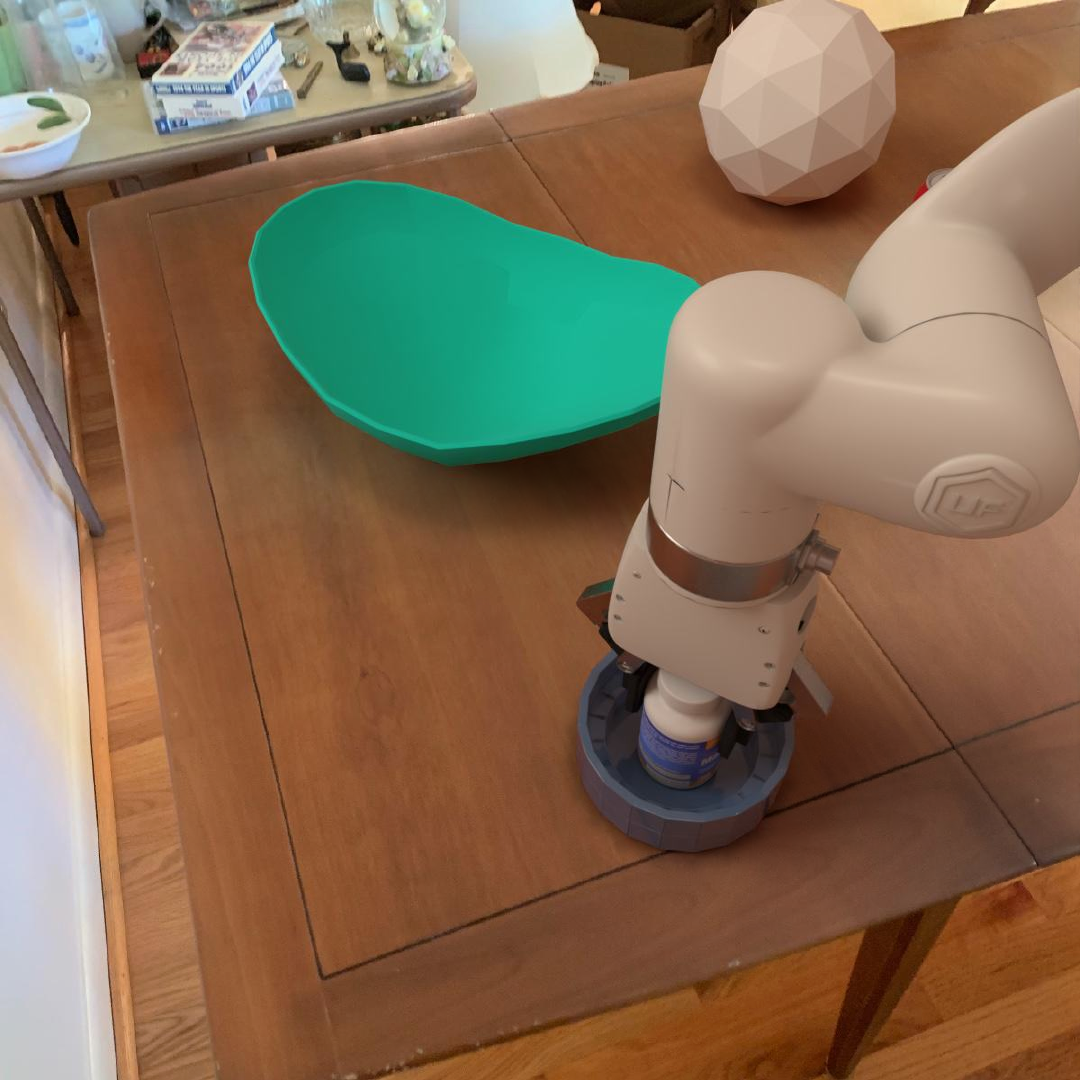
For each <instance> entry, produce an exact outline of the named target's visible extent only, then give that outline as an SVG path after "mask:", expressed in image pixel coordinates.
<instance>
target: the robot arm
mask: <svg viewBox="0 0 1080 1080" xmlns="http://www.w3.org/2000/svg"><path fill="white" fill-rule="evenodd" d="M1078 268H1080V86H1078V87H1076V88H1074V89H1071V90H1069V91H1067V92H1065V93H1063V94H1061V95H1059V96H1057V97H1055V98H1053V99H1051V100H1048V101H1047V102H1044V104H1041V105H1040V106H1038V107H1036V108H1034V109H1032V110H1031V111H1030V110H1029V112H1027V113H1025V114H1024V115H1022V116H1021V117H1019V118H1018V119H1016V120H1015V121H1013V122H1011V123H1009V125H1007V126H1005V127H1004V128H1003V129H1001V130H1000V131H998V132H997V133H996V134H995V135H992V137H991V138H989V139H988V140H987V141H985V142H984V143H983V144H982V145H980V146H979V147H978V148H976V149H975V151H973V152H972V153H971V154H969V155H968V156H967V157H966V158H964V160H962V161H961V162H959V163H958V164H957V165H956V166H955V167H954V169H953V170H952V171H950V172H949V173H948V174H947V175H946V176H945V177H943V178H942V179H941V180H940V181H939V182H937V183H936V184H935V185H934V186H933V187H932V188H930V189H929V190H928V191H927V192H926V193H925V194H923V195H922V196H921V197H920V198H919V199H918V200H917V201H915V202H914V203H913V202H912V204H910V206H908V207H907V208H906V209H905V210H904V211H903V212H902V213H901V214H900V215H899V216H898V217H897V218H896V219H894V221H892V223H891V224H889V226H887V227H886V228H885V230H883V232H882V233H881V234H880V235H879V236H878V237H877V238H876V239H875V241H874V242H873V244H872V245H871V246H870V248H869V249H867V251H866V253H865V254H864V255H863V257H862V258H861V259H860V261H859V263H858V264H857V266H856V268H855V270H854V273H853V274H852V277H850V281H849V283H848V286H847V289H846V294H845V299H844V300H843V299H842V298H841V297H840V296H839V295H837V294H836V293H835V292H833V291H831V290H830V289H828V288H827V287H826V286H823V285H822V284H820V283H818V282H815V281H813V280H811V279H809V278H806V277H803V276H800V275H797V274H792V273H789V272H782V271H777V270H748V271H747V270H746V271H741V272H736V273H735V272H734V273H730V274H726V275H724V276H720V277H717V278H715V279H714V280H711V281H708V282H707V283H704V285H702V286H701V287H700V288H699V289H698V290H696V291H695V292H694V293H693V294H692V295H691V296H690V297H689V298H688V299H686V301H685V302H684V304H683V305H682V306H681V308H680V309H679V311H678V312H677V314H676V316H675V318H674V320H673V323H672V325H671V328H670V332H669V337H668V343H667V349H666V357H665V366H664V375H663V384H662V393H661V401H660V410H659V414H658V421H657V430H656V439H655V446H654V452H653V453H654V455H653V462H652V470H651V479H650V486H649V495H648V497H647V499H646V500H645V502H644V503H643V505H642V507H641V509H640V511H639V513H638V515H637V517H636V519H635V521H634V523H633V526H632V527H631V530H630V532H629V535H628V537H627V540H626V543H625V546H624V549H623V552H622V554H621V558H620V560H619V564H618V568H617V571H616V576H615V577H613V578H610V579H606V580H603V581H600V582H597V583H594V584H589V585H587V586H586V587H585V588H584V590H583V591H582V592H581V594H580V596H579V598H578V599H577V600H576V602H575V604H576V607H577V608H578V609H579V610H580V611H581V612H582V613H583V614H584V615H585V616H586V618H587V619H588V620H589V621H590V622H591V623H592V624H593V625H594V626H598V627H599V628H598V635H599V636H600V637H601V638H602V639H603V640H604V642H606V644H607V645H608V646H609V647H610V648H611V650H612V649H613V650H614V651H615V653H616V654H617V655H618V656H619V658H618V660H617V661H616V665H617V667H618V668H619V669H620V670H622V671H623V680H622V687H623V688H625V689H627V699H626V707H625V710H627V711H629V712H631V713H634V712H636V713H637V712H638V711H639V709H640V707H641V705H642V704H643V702H644V694H645V689H646V686H647V683H648V681H649V679H650V678H651V676H652V675H653V674H654V672H655V671H657V670H658V669H659V668H661V669H664V670H666V671H668V672H670V673H672V674H674V675H676V676H678V677H681V678H683V679H685V680H687V681H689V682H691V683H693V684H696V685H698V686H700V687H702V688H704V689H706V690H709V691H711V692H713V693H715V694H717V695H720V696H722V697H724V698H726V699H729V700H731V703H732V707H733V709H732V711H731V713H730V715H729V717H728V719H727V721H726V723H725V726H724V730H723V733H722V737H721V740H720V744H719V747H718V751H717V752H718V753H720V755H719V756H721V757H723V758H725V759H728V758H729V756H730V754H731V752H732V750H733V748H734V746H735V744H736V742H737V743H739V744H741V745H743V746H745V747H746V746H747V745H748V743H749V740H750V738H751V736H752V734H753V732H754V730H756V728H757V726H758V724H759V723H778V722H789V721H790V720H791V718H792V717H793V718H797V719H798V720H826V719H827V717H828V715H829V713H830V711H831V708H832V706H833V703H834V701H835V697H834V695H833V694H832V692H831V691H830V689H828V687H827V685H826V684H825V682H824V681H823V680H822V678H821V677H820V675H819V674H818V672H817V671H816V670H815V668H814V667H813V665H812V664H811V663H810V662H811V661H809V660H808V658H807V657H806V655H805V654H804V651H805V648H806V645H807V642H808V638H809V635H810V631H811V628H812V624H813V619H814V616H815V612H816V606H817V601H818V596H819V590H820V589H819V587H820V577H821V575H820V574H824V575H827V576H828V577H829V576H831V574H832V573H833V571H834V568H835V566H836V564H837V561H838V558H839V556H840V554H841V551H842V548H841V547H840V548H839V547H837V546H835V545H833V544H829V543H827V539H825V538H822V537H820V534H821V533H820V532H821V531H820V530H818V529H816V528H817V525H818V522H819V519H820V515H821V513H820V512H819V510H820V507H821V504H822V502H824V503H828V504H831V505H834V506H836V507H841V508H844V509H847V510H850V511H853V512H856V513H858V514H859V513H860V514H862V515H866V516H868V517H872V518H875V519H877V520H880V521H884V522H887V523H890V524H893V525H895V526H896V525H897V526H900V527H903V528H907V529H910V530H914V531H918V532H922V533H926V534H930V535H934V536H940V537H947V538H953V539H965V540H992V539H998V538H1003V537H1010V536H1013V535H1017V534H1021V533H1024V532H1026V531H1029V530H1031V529H1033V528H1036V527H1037V526H1039V525H1041V524H1042V523H1044V522H1045V521H1046V522H1047V520H1049V519H1050V518H1052V517H1053V516H1055V514H1056V513H1058V512H1059V511H1060V510H1061V508H1062V507H1064V505H1065V504H1066V503H1067V501H1068V500H1069V499H1070V498H1071V495H1072V493H1073V492H1074V490H1075V488H1076V485H1077V483H1078V479H1079V477H1080V433H1079V429H1078V424H1077V420H1076V417H1075V414H1074V410H1073V407H1072V404H1071V402H1070V398H1069V395H1068V393H1067V388H1066V386H1065V383H1064V379H1063V377H1062V373H1061V370H1060V368H1059V364H1058V361H1057V358H1056V356H1055V352H1054V350H1053V346H1052V343H1051V340H1050V336H1049V334H1048V331H1047V327H1046V325H1045V320H1044V317H1043V314H1042V311H1041V308H1040V305H1039V301H1038V298H1037V297H1039V296H1040V295H1041V294H1042V293H1044V292H1046V291H1047V290H1048V289H1050V288H1051V287H1052V286H1054V285H1055V284H1057V283H1059V282H1060V281H1061V280H1062V279H1064V278H1065V277H1067V276H1069V274H1071V273H1072V272H1074V271H1075V270H1076V269H1078Z"/></svg>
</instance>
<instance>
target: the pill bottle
mask: <svg viewBox="0 0 1080 1080" xmlns="http://www.w3.org/2000/svg"><path fill="white" fill-rule="evenodd" d="M732 709H733V707H732V703H731V700H729V699H726V698H724V697H722V696H720V695H717V694H715V693H713V692H711V691H709V690H706V689H704V688H702V687H700V686H698V685H696V684H693V683H691V682H689V681H687V680H685V679H683V678H681V677H678V676H676V675H674V674H672V673H670V672H668V671H666V670H664V669H661V668H659V669H658V670H657V671H655V672H654V674H653V675H652V676H651V678H650V679H649V681H648V683H647V686H646V689H645V694H644V702H643V710H642V718H641V726H640V733H639V739H638V755H639V758H640V761H641V764H642V766H643V767H644V769H645V770H646V772H647V773H648V774H649V775H650V776H651V777H652V778H653V779H655V780H656V781H657V782H659V783H661V784H663V785H665V786H667V787H671V788H675V789H690V788H694V787H697V786H699V785H701V784H703V783H705V782H706V781H708V780H709V779H710V778H711V777H712V776H713V774H714V773H715V771H716V770H717V768H718V765H719V763H720V760H721V756H719V755H720V753H718V752H717V751H718V747H719V744H720V740H721V737H722V733H723V730H724V726H725V723H726V721H727V719H728V717H729V715H730V713H731V711H732Z"/></svg>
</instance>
